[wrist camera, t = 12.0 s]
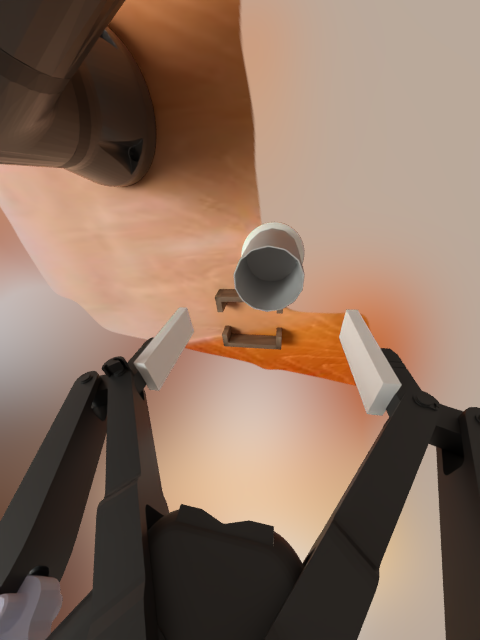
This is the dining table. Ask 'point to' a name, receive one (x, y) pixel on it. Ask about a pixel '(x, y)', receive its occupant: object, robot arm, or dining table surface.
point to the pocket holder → (241, 339)
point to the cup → (270, 271)
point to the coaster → (281, 227)
